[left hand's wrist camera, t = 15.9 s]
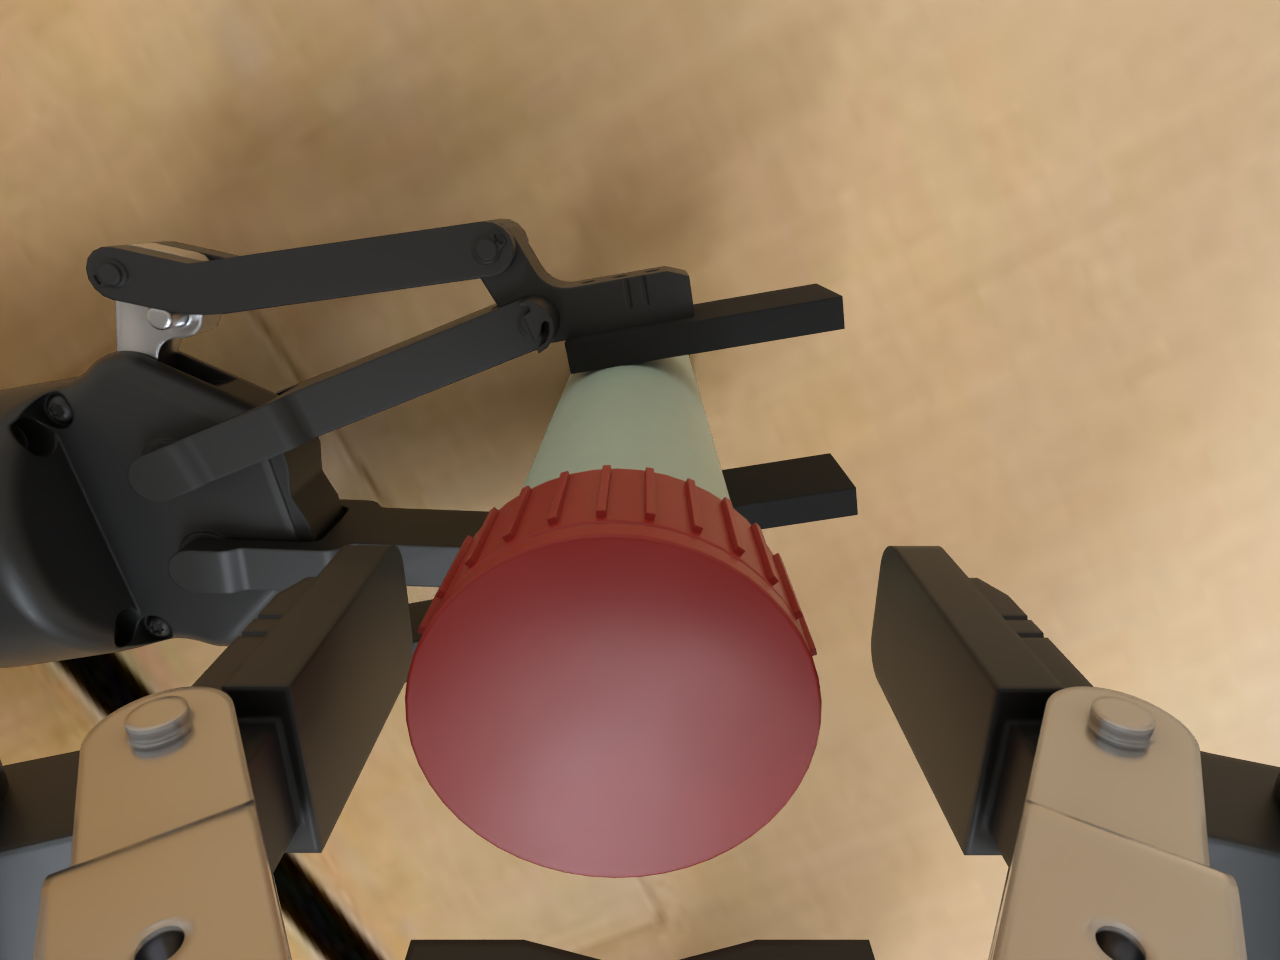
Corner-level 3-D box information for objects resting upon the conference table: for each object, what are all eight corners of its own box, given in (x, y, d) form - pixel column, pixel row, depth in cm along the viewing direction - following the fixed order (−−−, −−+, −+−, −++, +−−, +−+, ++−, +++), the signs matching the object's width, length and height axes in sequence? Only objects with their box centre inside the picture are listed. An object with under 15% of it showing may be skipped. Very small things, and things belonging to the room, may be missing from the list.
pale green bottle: (713, 400, 26) (832, 747, 9) (611, 454, 26) (560, 862, 10) (657, 295, 24) (682, 488, 8) (551, 355, 25) (384, 639, 9)
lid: (723, 406, 9) (745, 461, 8) (837, 706, 11) (879, 816, 9) (380, 539, 10) (315, 621, 8) (534, 803, 12) (512, 925, 10)
